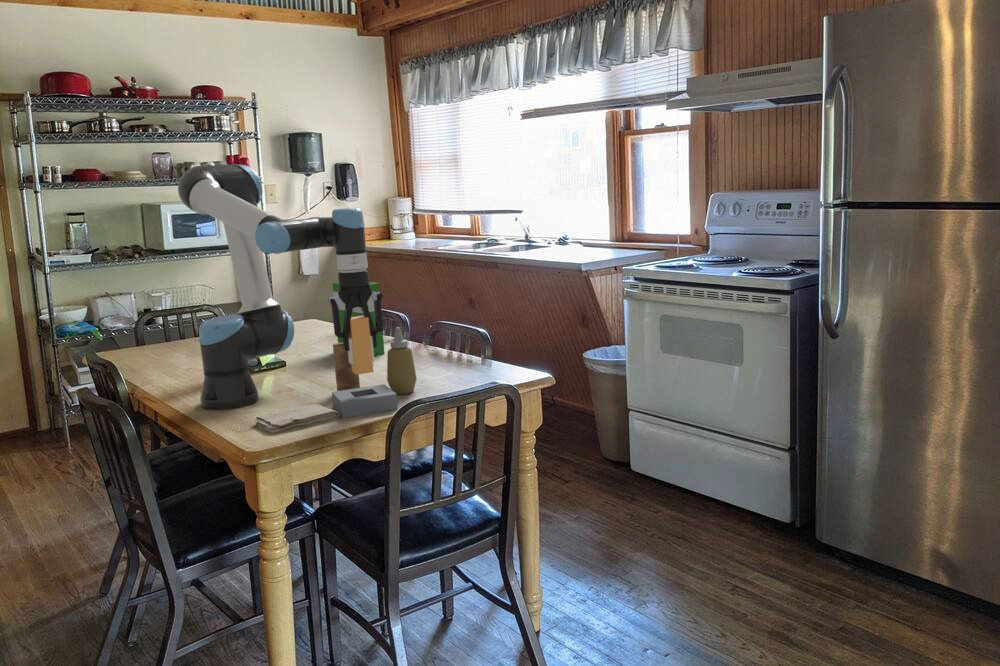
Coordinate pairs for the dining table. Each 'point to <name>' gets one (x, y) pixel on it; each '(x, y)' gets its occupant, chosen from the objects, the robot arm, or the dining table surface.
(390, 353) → the squeeze bottle
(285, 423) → the washcloth
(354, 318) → the square peg
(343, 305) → the green cereal box
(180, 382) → the dining table surface
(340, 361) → the brown wooden block
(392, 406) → the socket block
